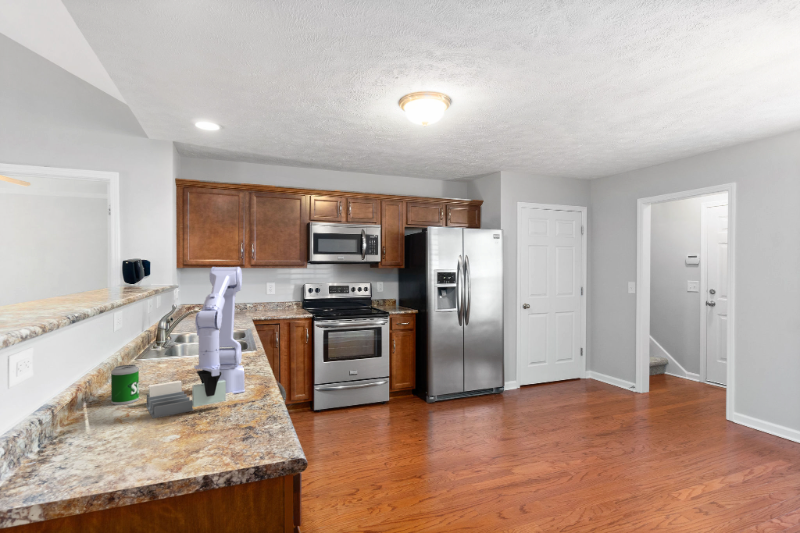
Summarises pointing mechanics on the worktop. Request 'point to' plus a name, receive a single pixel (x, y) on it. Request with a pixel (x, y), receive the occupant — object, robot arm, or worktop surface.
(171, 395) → the dish rack
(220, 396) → the celadon plate
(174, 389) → the white rectangular block
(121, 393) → the soda can
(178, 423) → the worktop surface
